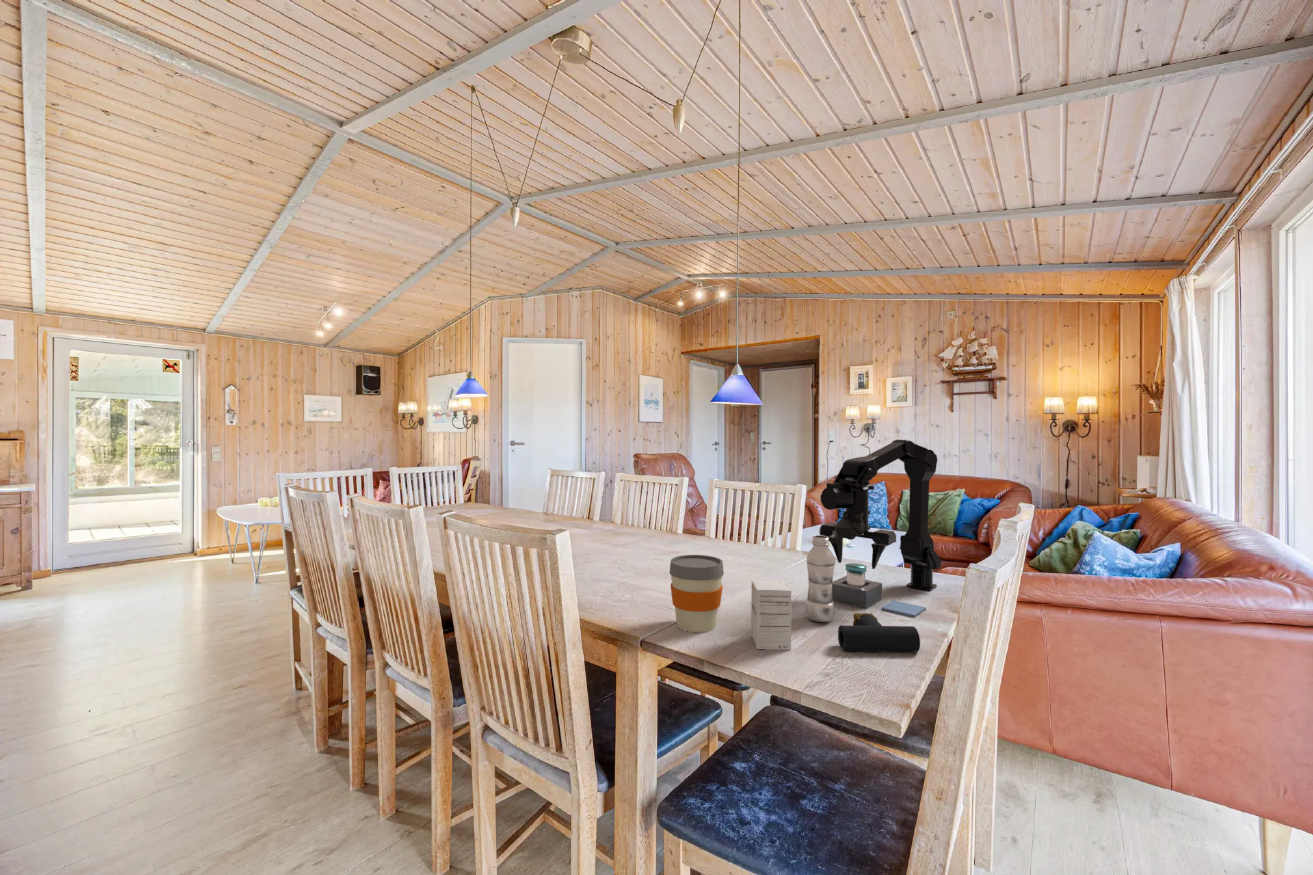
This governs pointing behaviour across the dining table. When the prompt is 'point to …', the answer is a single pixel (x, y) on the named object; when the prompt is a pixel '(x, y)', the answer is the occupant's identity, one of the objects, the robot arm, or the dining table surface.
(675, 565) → the reusable coffee cup
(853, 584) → the green lidded jar
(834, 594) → the housing
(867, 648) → the pipe connector
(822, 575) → the plastic bottle
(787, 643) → the supplement box
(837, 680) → the dining table surface
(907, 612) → the mat
